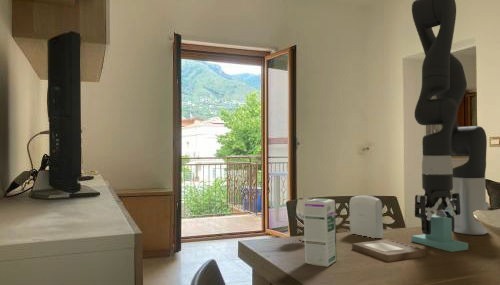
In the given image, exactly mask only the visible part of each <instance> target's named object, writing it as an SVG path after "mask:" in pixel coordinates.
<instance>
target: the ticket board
mask: <svg viewBox="0 0 500 285" xmlns="http://www.w3.org/2000/svg"><path fill="white" fill-rule="evenodd" d="M351 246H352V247H351V249H352V250H354V251H357V252H359V253H362V254H365V255H368V256H371V257H373V258H376V259H380V260H382V261H385V262H394V261H400V260H401V261H402V260H409V259H413V258H414V259H415V258H421V257H426V256H427V249H425V248H423V247H418V246H414V245H412V244H411V245H410V244H408V243H404V242H399V241H396V240H393V239H389V238H386V239H376V240H371V241H362V242H355V243H354V242H353V243H351Z"/></svg>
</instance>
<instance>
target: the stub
mask: <svg viewBox="0 0 500 285" xmlns="http://www.w3.org/2000/svg"><path fill="white" fill-rule="evenodd" d="M430 221H431V234H429V235H427V234H423V233H422V234H415V235H411V242H412V243H417V244H420V245H424V246H427V247H431V248H435V249H439V250H442V251H447V252H449V253H453V252H460V251H467V250H469V243H468V242H464V241H460V240H456V239H453V235H452V234H453V231H452V218H448V217H447V216H441V215H437V214H432V216H431V218H430Z"/></svg>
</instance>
